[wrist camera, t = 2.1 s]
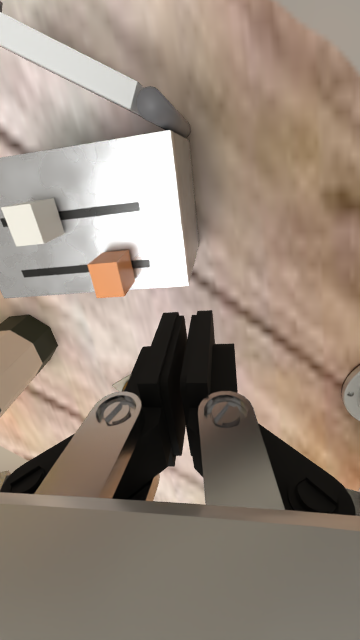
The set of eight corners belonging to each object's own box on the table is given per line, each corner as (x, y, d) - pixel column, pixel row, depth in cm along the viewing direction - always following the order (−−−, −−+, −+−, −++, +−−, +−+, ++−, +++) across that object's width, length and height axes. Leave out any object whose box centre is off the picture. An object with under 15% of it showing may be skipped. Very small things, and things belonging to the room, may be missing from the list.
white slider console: (189, 140, 27) (170, 129, 17) (199, 244, 32) (188, 285, 22) (39, 164, 30) (-57, 167, 20) (68, 256, 35) (3, 298, 24)
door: (196, 113, 26) (174, 72, 14) (186, 140, 27) (157, 125, 15) (33, 30, 25) (-157, -99, 12) (30, 63, 26) (-147, -26, 13)
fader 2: (128, 250, 21) (116, 262, 18) (135, 280, 22) (124, 296, 19) (102, 252, 21) (87, 264, 19) (110, 282, 22) (96, 298, 20)
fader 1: (53, 198, 20) (30, 203, 17) (64, 233, 21) (44, 243, 18) (27, 201, 20) (0, 207, 17) (39, 236, 21) (16, 246, 19)
